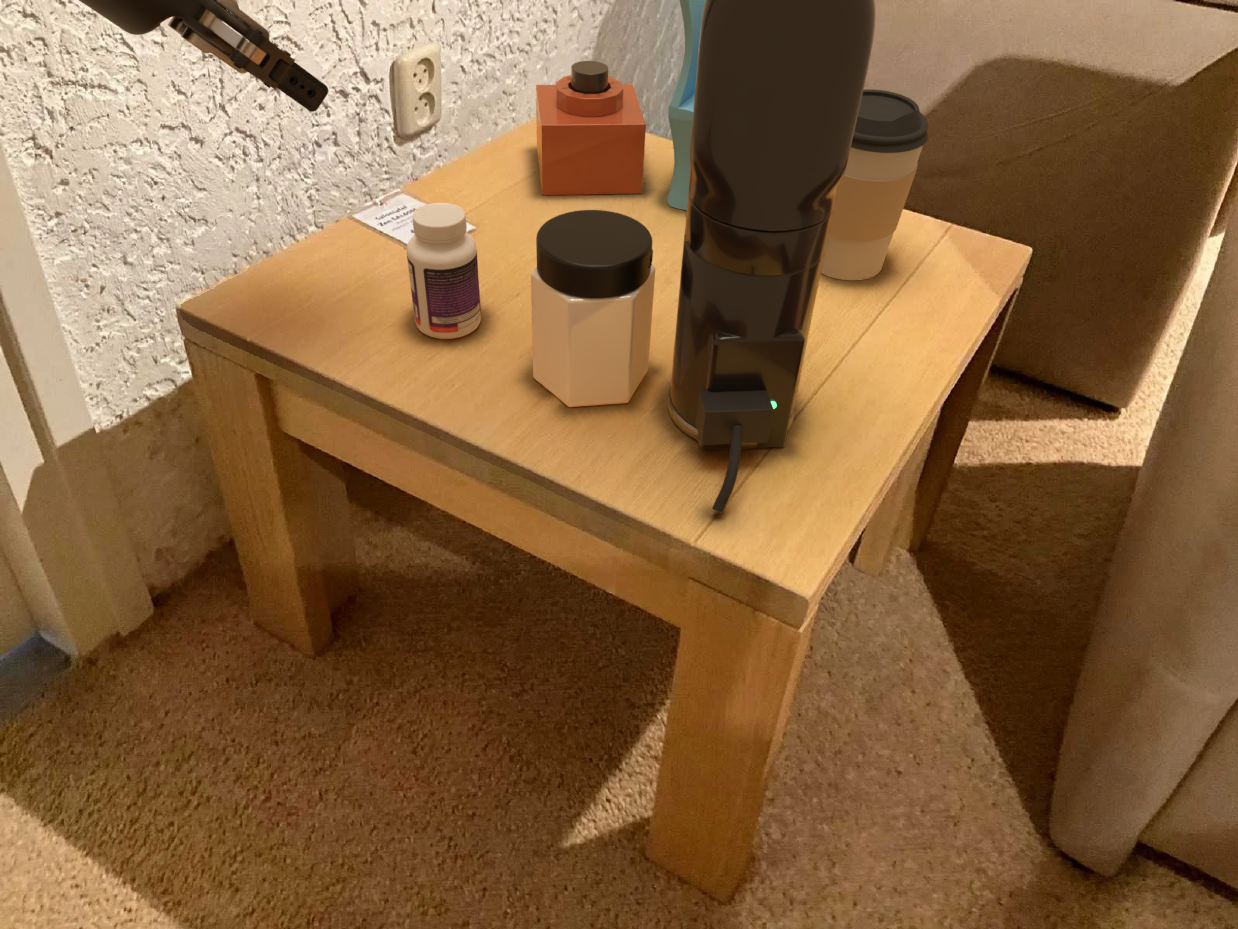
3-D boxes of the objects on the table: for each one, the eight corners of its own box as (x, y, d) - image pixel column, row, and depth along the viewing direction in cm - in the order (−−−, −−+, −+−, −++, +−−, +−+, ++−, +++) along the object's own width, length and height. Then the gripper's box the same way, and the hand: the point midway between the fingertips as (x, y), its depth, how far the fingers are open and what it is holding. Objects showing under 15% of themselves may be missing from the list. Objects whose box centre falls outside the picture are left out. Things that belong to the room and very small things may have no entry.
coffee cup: (775, 256, 92) (801, 94, 82) (837, 227, 97) (869, 70, 87) (853, 298, 87) (890, 132, 77) (914, 265, 92) (957, 104, 82)
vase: (661, 204, 99) (677, -10, 85) (688, 173, 104) (707, -34, 91) (737, 222, 97) (765, 5, 83) (761, 188, 102) (791, -20, 89)
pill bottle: (494, 317, 83) (489, 210, 76) (453, 348, 79) (443, 238, 73) (443, 297, 85) (434, 190, 78) (401, 326, 81) (387, 217, 75)
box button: (609, 96, 97) (610, 74, 95) (572, 96, 96) (572, 74, 95) (605, 82, 99) (606, 60, 98) (569, 82, 99) (569, 60, 97)
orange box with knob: (641, 193, 100) (647, 105, 94) (542, 195, 99) (541, 106, 93) (629, 150, 108) (633, 66, 102) (536, 151, 107) (535, 66, 101)
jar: (669, 384, 77) (681, 245, 69) (585, 424, 73) (588, 282, 65) (596, 331, 82) (600, 195, 74) (514, 365, 78) (509, 226, 70)
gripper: (164, -97, 55) (389, 84, 69) (94, -142, 63) (308, 29, 77) (93, 18, 56) (328, 174, 70) (32, -40, 64) (255, 110, 78)
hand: (317, 98), depth 73 cm, fingers closed
